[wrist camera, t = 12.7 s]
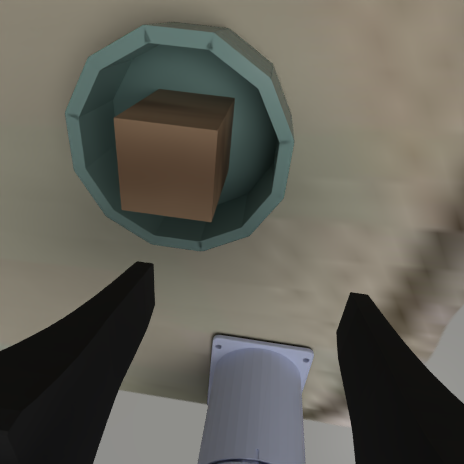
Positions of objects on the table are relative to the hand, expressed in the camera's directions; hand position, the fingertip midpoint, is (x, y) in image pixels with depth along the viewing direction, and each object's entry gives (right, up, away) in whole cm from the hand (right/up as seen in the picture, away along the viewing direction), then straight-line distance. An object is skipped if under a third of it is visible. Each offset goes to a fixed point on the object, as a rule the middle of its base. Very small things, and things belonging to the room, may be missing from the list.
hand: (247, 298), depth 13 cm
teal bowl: (-3, +8, +7) cm, 11 cm away
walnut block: (-3, +8, +6) cm, 11 cm away
